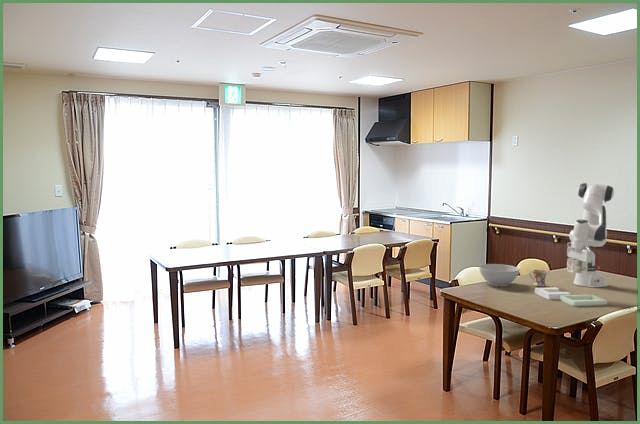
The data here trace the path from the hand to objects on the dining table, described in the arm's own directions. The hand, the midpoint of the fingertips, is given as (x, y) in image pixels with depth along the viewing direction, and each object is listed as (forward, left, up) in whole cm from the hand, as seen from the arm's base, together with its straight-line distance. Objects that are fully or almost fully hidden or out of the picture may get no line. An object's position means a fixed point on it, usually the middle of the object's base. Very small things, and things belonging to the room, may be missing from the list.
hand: (578, 266), depth 327 cm
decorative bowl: (+34, -38, -20) cm, 55 cm away
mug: (+8, -32, -20) cm, 39 cm away
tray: (+4, +12, -20) cm, 24 cm away
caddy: (-1, 0, -3) cm, 3 cm away
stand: (+14, -5, -20) cm, 25 cm away
